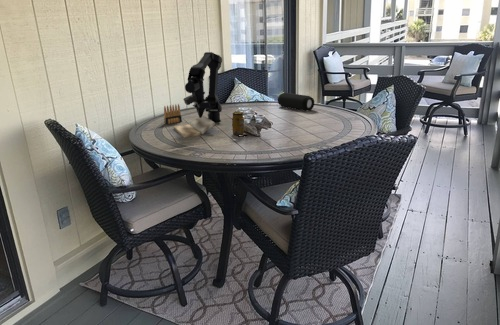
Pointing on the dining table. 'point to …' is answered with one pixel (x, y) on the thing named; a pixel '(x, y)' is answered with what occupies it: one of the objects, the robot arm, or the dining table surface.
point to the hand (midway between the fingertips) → (200, 117)
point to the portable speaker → (296, 101)
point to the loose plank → (202, 124)
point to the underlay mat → (210, 131)
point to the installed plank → (186, 131)
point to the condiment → (238, 123)
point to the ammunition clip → (172, 115)
